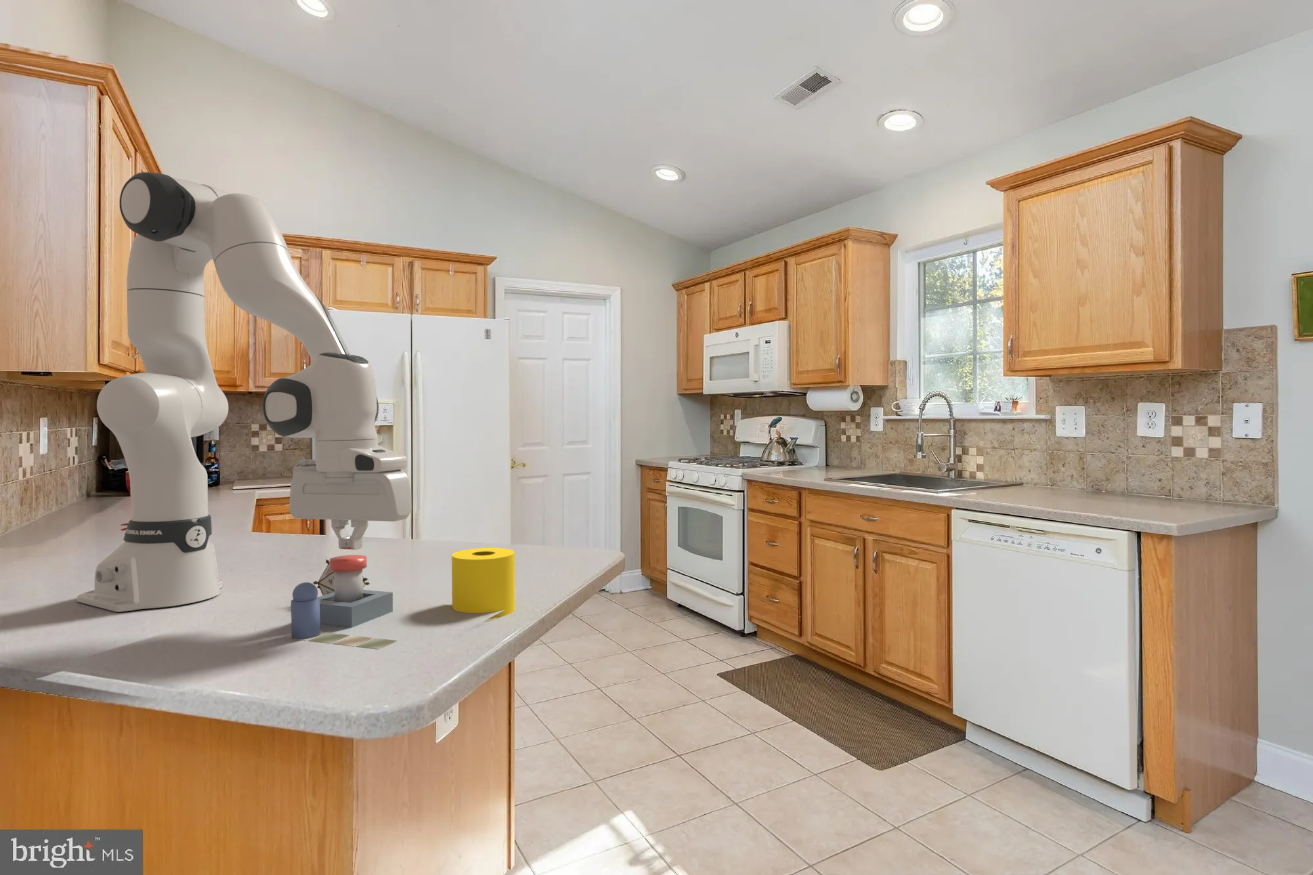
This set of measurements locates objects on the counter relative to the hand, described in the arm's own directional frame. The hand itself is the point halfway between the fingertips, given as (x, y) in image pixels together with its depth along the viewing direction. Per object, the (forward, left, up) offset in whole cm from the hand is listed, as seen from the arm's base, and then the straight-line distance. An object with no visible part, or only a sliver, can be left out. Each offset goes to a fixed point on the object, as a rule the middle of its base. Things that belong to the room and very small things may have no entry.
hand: (350, 548), depth 108 cm
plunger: (0, 0, -8) cm, 8 cm away
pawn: (+1, -10, -10) cm, 14 cm away
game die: (-8, +7, -12) cm, 16 cm away
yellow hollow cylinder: (+16, +12, -12) cm, 23 cm away
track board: (+7, -10, -12) cm, 16 cm away
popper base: (0, 0, -12) cm, 11 cm away
